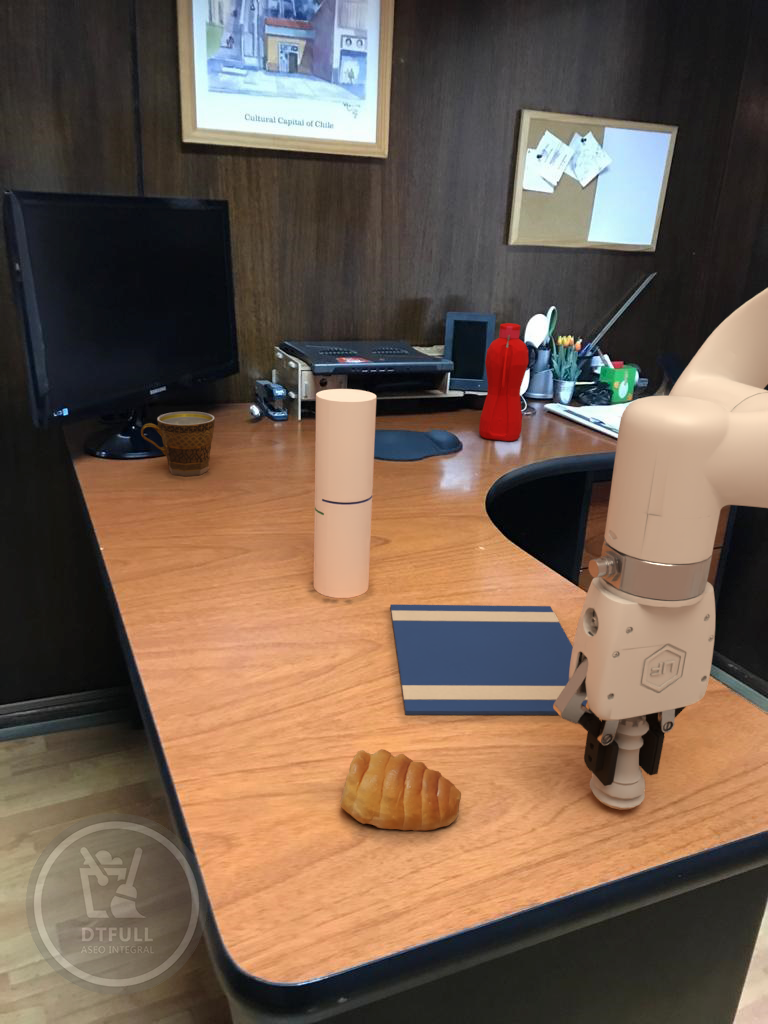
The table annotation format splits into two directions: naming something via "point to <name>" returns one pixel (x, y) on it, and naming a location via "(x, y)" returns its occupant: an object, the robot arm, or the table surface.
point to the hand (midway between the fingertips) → (620, 767)
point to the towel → (480, 659)
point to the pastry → (398, 793)
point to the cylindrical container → (343, 491)
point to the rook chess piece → (625, 767)
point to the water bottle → (504, 385)
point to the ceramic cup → (185, 441)
